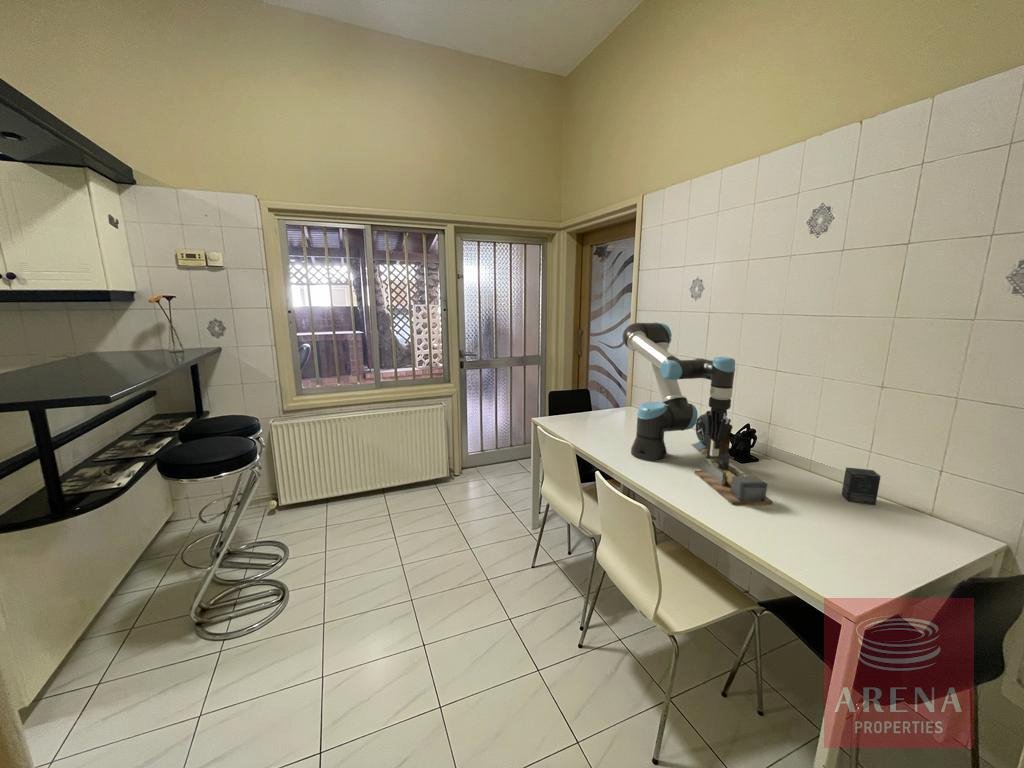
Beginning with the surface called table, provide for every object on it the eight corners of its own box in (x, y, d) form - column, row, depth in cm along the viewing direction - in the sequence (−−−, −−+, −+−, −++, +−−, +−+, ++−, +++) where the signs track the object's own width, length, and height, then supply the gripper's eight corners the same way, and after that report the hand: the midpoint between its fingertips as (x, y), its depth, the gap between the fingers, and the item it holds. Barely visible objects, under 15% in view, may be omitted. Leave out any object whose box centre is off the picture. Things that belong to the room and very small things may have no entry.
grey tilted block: (702, 470, 160) (703, 458, 159) (721, 470, 161) (722, 458, 160) (721, 486, 147) (723, 473, 146) (742, 485, 147) (744, 472, 146)
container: (706, 468, 165) (710, 426, 162) (703, 460, 174) (707, 420, 170) (730, 471, 162) (735, 428, 159) (726, 463, 171) (731, 422, 167)
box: (867, 498, 140) (873, 469, 138) (875, 505, 135) (881, 476, 133) (840, 494, 143) (845, 466, 141) (847, 501, 138) (852, 472, 136)
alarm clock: (690, 443, 194) (693, 408, 191) (710, 444, 194) (714, 408, 190) (702, 454, 180) (706, 416, 177) (724, 455, 180) (729, 417, 176)
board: (694, 472, 161) (694, 470, 160) (728, 472, 161) (728, 470, 161) (732, 504, 135) (732, 502, 135) (772, 504, 136) (772, 501, 136)
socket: (730, 493, 141) (732, 476, 140) (753, 493, 141) (756, 476, 140) (740, 501, 135) (742, 483, 134) (765, 501, 135) (767, 483, 134)
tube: (708, 471, 159) (711, 447, 157) (718, 471, 159) (721, 447, 157) (729, 487, 145) (732, 461, 143) (739, 487, 146) (743, 461, 144)
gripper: (702, 393, 161) (696, 449, 165) (720, 401, 148) (713, 461, 152) (720, 393, 161) (714, 449, 166) (740, 401, 148) (732, 461, 153)
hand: (714, 455), depth 159 cm, fingers closed
